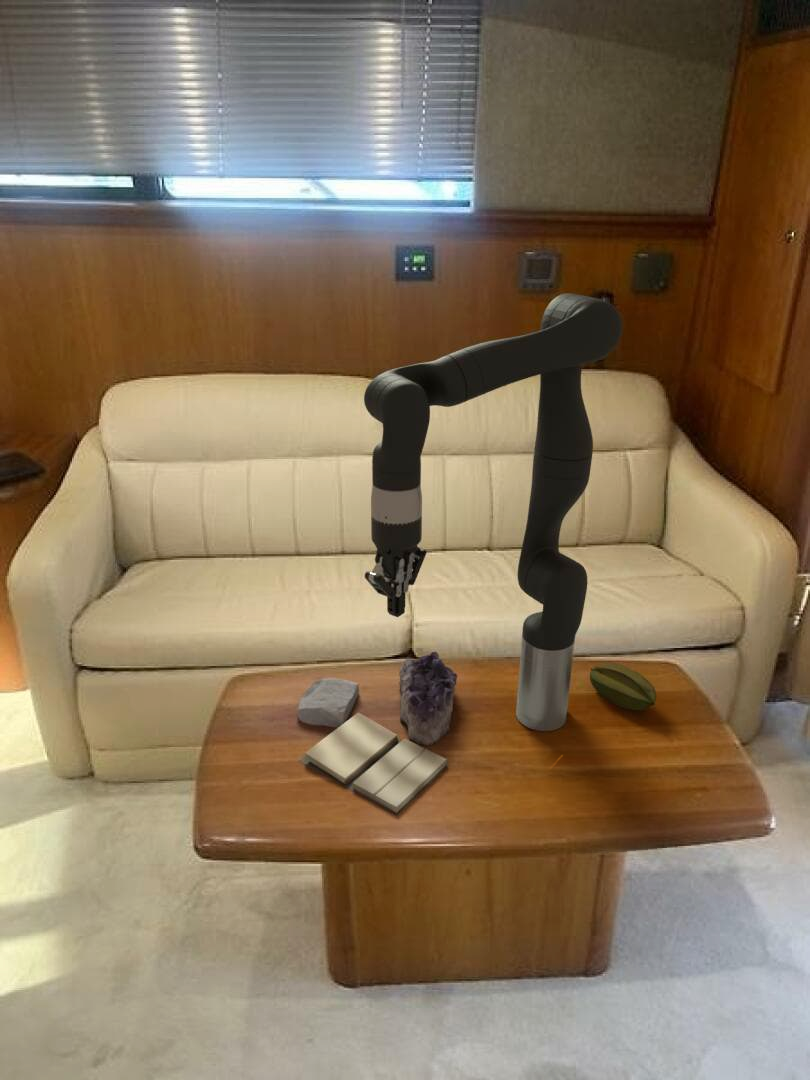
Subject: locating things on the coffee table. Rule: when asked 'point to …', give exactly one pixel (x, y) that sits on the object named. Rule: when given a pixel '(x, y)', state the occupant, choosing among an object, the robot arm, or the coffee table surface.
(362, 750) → the beige flat rectangular panel
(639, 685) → the fruit
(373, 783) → the laid floor
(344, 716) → the stone block
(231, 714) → the coffee table surface
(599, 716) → the coffee table surface
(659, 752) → the coffee table surface
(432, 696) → the geode
